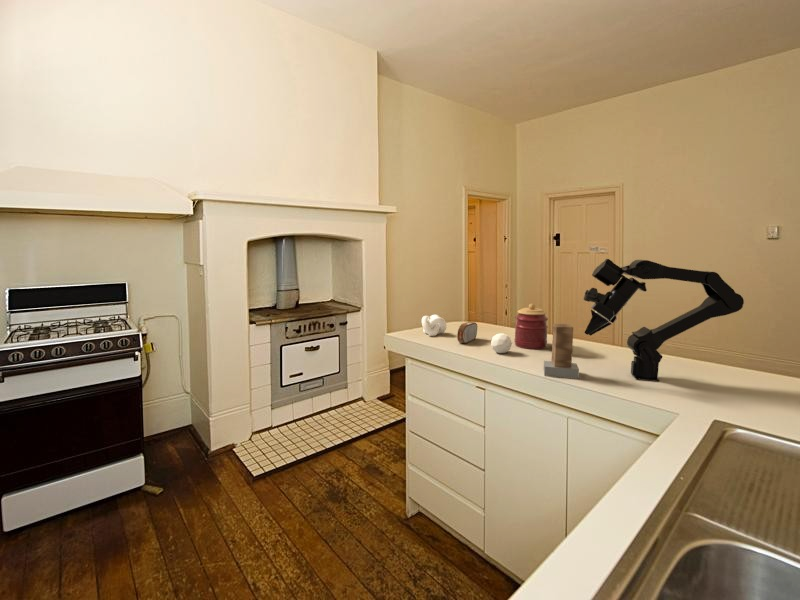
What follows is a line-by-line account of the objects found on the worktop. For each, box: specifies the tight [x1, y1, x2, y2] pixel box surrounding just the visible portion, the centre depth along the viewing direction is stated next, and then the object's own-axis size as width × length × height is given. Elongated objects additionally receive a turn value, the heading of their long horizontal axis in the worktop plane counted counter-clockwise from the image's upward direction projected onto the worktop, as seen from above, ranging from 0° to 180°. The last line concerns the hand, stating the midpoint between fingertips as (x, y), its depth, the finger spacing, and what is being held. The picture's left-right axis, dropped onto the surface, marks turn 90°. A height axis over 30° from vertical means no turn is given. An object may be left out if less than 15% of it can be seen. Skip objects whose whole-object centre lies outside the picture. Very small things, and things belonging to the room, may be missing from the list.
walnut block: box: [551, 323, 574, 368], centre depth 130 cm, size 5×5×13 cm
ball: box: [490, 333, 513, 354], centre depth 157 cm, size 8×8×8 cm
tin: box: [456, 321, 478, 344], centre depth 176 cm, size 15×3×8 cm, turn 144°
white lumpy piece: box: [421, 314, 448, 337], centre depth 190 cm, size 11×12×9 cm
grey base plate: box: [543, 360, 580, 380], centre depth 131 cm, size 10×7×3 cm
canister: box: [514, 303, 549, 350], centre depth 167 cm, size 13×13×18 cm
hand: (587, 334), depth 129 cm, fingers open, 9 cm apart
